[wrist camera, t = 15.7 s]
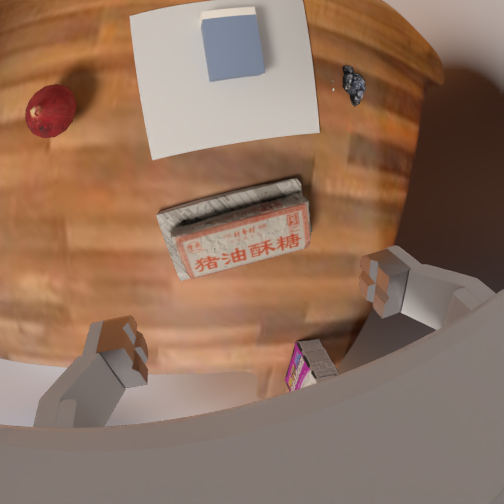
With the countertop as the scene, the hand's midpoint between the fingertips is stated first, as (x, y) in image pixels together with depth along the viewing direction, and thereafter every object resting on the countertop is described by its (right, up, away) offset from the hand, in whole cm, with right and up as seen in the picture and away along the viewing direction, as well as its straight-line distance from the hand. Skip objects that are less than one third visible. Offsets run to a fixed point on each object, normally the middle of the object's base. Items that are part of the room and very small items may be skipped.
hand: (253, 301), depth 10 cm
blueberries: (+12, +23, +22) cm, 34 cm away
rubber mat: (-3, +22, +18) cm, 29 cm away
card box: (-2, +20, +17) cm, 26 cm away
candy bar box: (+9, -18, +43) cm, 47 cm away
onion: (-22, +18, +16) cm, 32 cm away
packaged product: (-2, +5, +28) cm, 29 cm away
